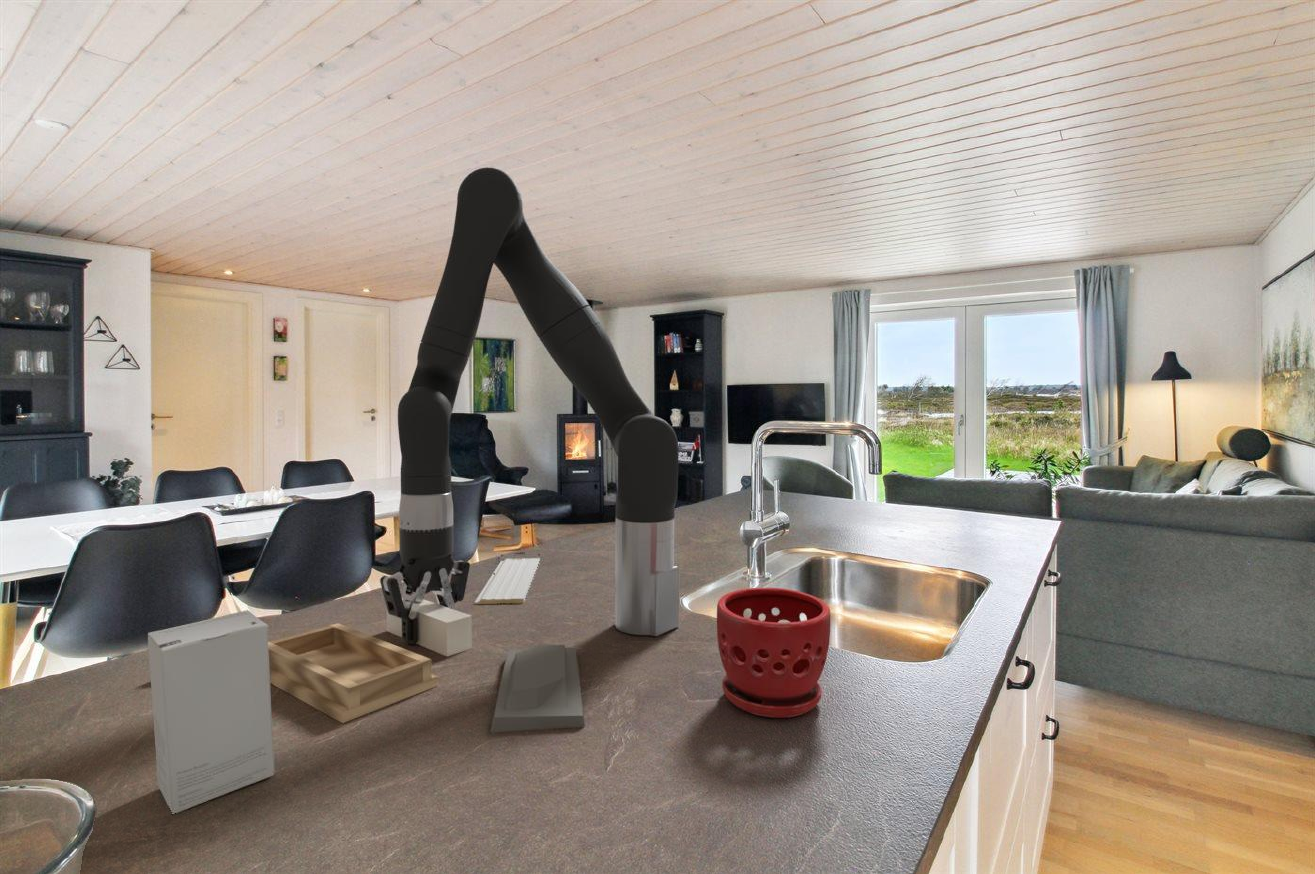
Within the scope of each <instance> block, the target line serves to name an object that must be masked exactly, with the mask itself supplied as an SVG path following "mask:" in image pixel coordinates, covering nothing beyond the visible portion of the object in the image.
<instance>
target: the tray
mask: <svg viewBox="0 0 1315 874" xmlns="http://www.w3.org/2000/svg"><path fill="white" fill-rule="evenodd" d="M268 650H269V671H270V685H273V686H274V687H277V688H278V689H280V690H282V691H284V692H286V693H288V694H289V695H291V696H293V697H294V698H296V699H298V700H300V701H302V702H303V703H306V704H307V705H309V706H311V707H313V708H315V710H318V711H320V712H322V713H324V714H325V715H327V716H329V717H331V718H332V719H334V720H336V721H337V722H340V723H341V724H344V723H347V722H350V721H353V720H355V719H356V718H357V719H358V718H360V717H362V716H365V715H367V714H369V713H373V712H375V711H377V710H380V709H382V708H385V707H388V706H390V705H393V704H395V703H398V702H400V701H402V700H405V699H407V698H410V697H413V696H416V695H418V694H420V693H423V692H426V691H428V690H431V689H433V688H436V687H438V676H437V675H435V674H433V672H432V671H433V669H432V659H431V658H430V657H426V656H425V655H422V654H419V653H416V652H414V651H411V650H408V649H406V648H403V647H402V646H398V645H395V644H392V643H390V642H388V641H385V640H383V639H380V638H378V637H374V636H373V635H370V634H367V633H364V632H361V631H359V630H356V629H354V628H352V627H349V626H346V625H343V624H341V623H339V622H338V623H334V624H329V625H326V626H321V627H319V628H314V629H312V630H311V629H310V630H307V631H303V632H300V633H296V634H291V635H289V636H285V637H281V638H278V639H274V640H271V641H268Z"/></svg>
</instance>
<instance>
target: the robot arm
mask: <svg viewBox="0 0 1315 874" xmlns="http://www.w3.org/2000/svg"><path fill="white" fill-rule="evenodd" d="M456 197H457V199H456V210H455V217H454V224H453V231H452V236H451V237H452V238H451V242H450V246H449V251H448V255H447V259H446V263H445V267H444V271H443V273H442V276H441V280H440V282H439V286H438V288H437V291H436V295H435V298H434V300H433V303H432V307H431V309H430V312H429V316H428V318H427V320H426V321H427V322H426V323H425V327H424V331H423V333H422V337H421V340H420V343H419V347H418V350H417V357H416V358H417V359H416V360H417V364H416V367H415V369H414V373H413V376H412V379H411V381H410V384H409V387H408V390H407V392H405V393H404V394H403V396H402V397H401V398H400V400H399V402H398V406H397V407H398V408H397V428H398V430H397V431H398V439H399V447H400V448H399V449H400V454H401V463H400V499H399V507H398V523H399V524H398V525H399V526H398V527H399V528H398V530H399V532H398V533H399V542H398V543H399V555H400V560H401V563H400V567H399V568H398V572H396V573H394V574H392V575H389V576H387V575H382V577H380V580H379V583H380V587H381V590H382V594H383V599H384V602H385V605H386V611H387V610H388V613H389V614H390V615H393V616H396V617H399V618H401V619H402V637H401V638H402V640H404V642H406V643H408V644H410V645H413V644H416V643H417V642H418V620H417V618H415V617H416V615H417V612H418V608H419V605H420V603H422V602H423V599H424V600H425V595H427V594H429V593H430V592H432V593H433V594H434V597H435V599H436V602H437V604H439V605H442V606H445V607H448V608H451V609H453V608H454V606H455V604H457V602H462V601H463V600H464V598H465V593H466V589H467V583H468V578H469V573H470V567H471V563H470V562H468V561H466V560H462V559H461V560H460V559H456V560H454V558H453V556H452V554H453V552H454V548H455V547H454V545H455V544H454V543H455V542H454V538H455V537H454V503H453V494H452V466H451V464H452V463H451V459H450V456H449V449H450V446H449V445H450V423H451V422H450V421H451V418H452V417H451V416H452V413H453V409H454V407H455V402H456V398H457V396H458V395H457V394H458V390H459V387H460V386H459V385H460V384H461V378H462V375H463V373H464V371H465V369H466V366H467V364H468V361H469V358H470V355H471V352H472V349H473V345H474V343H475V339H476V336H477V333H478V329H479V325H480V322H481V316H482V313H483V308H484V302H485V298H486V297H485V296H486V292H487V288H488V284H489V280H490V277H491V272H492V269H493V266H494V265H495V266H496V268H497V269H498V271H500V273H501V275H502V276H503V277H504V279H505V280H506V282H507V283H508V285H509V286H510V289H511V290H512V292H513V294H514V296H515V298H516V300H517V302H518V305H519V306H520V308H521V310H522V312H523V315H525V317H526V319H527V320H528V322H529V324H530V325H531V327H532V329H533V331H534V332H535V334H536V336H537V337H538V338H539V340H540V342H541V344H543V346H544V348H545V349H546V351H547V352H548V354H549V356H550V357H551V358H552V359H553V361H554V363H555V364H556V365H557V367H559V369H560V370H561V372H562V373H563V374H564V376H565V377H566V378H567V379H568V381H569V382H570V383H571V384H572V386H574V388H575V389H576V390H577V391H578V393H579V394H580V395H581V396H582V398H584V400H585V401H586V402H587V404H589V406H590V408H591V409H592V410H593V412H594V413H595V415H596V417H597V419H598V421H599V423H600V424H601V426H602V428H603V430H604V432H605V434H606V435H607V438H608V440H609V441H610V444H611V446H612V447H613V451H614V452H615V455H616V457H617V491H616V492H617V493H616V501H615V545H614V546H615V553H614V555H615V562H614V563H615V564H614V567H615V570H614V571H615V572H614V573H615V574H614V575H615V577H614V578H615V579H614V581H615V584H614V586H615V587H614V592H615V594H614V596H615V597H614V598H615V599H614V602H615V603H614V604H615V606H614V608H615V611H614V612H615V613H614V614H615V617H614V620H615V621H614V622H615V624H614V625H615V628H616V630H619V631H620V632H622V633H625V634H629V635H633V636H634V635H635V636H636V635H637V636H653V637H658V636H661V635H663V634H664V633H665V634H666V633H667V632H669V631H672V630H674V629H676V628H679V627H680V567H679V566H677V565H675V514H676V513H675V512H676V510H675V509H676V504H677V500H678V491H679V490H678V488H679V442H678V437H677V434H676V432H675V430H674V428H673V427H672V426H671V425H670V424H669V423H668V422H667V421H666V420H664V419H663V418H661V417H658V416H655V414H654V413H653V412H652V411H651V410H650V409H649V407H648V406H647V405H646V403H645V402H644V401H643V399H642V397H640V395H639V394H638V393H637V391H636V390H635V389H634V387H633V386H632V384H631V383H630V381H629V379H628V377H627V375H626V373H625V371H624V368H623V366H622V363H621V361H620V359H619V356H618V354H617V352H616V349H615V347H614V345H613V343H612V341H611V339H610V337H609V335H608V333H607V331H606V330H605V329H606V328H604V325H602V322H601V321H600V319H599V318H598V316H597V315H596V313H595V312H594V310H593V309H592V307H591V305H590V304H589V302H588V301H587V299H586V298H585V296H584V295H583V294H582V293H581V291H579V289H578V288H577V286H575V285H574V284H573V283H572V282H571V280H569V278H567V276H566V275H565V274H564V273H563V272H562V271H561V270H559V268H558V267H557V266H556V265H554V263H553V261H551V260H550V259H549V257H548V255H547V254H546V253H545V252H544V250H543V248H542V247H541V245H540V244H539V243H540V242H539V241H538V240H537V238H536V236H535V234H534V233H533V231H532V229H531V227H530V224H529V223H528V221H527V219H526V217H525V214H524V212H523V211H524V210H523V208H524V207H523V199H522V194H521V192H520V189H519V187H518V185H517V183H516V182H515V181H514V180H513V178H512V177H511V176H510V175H508V174H507V173H506V172H505V171H503V170H501V169H500V168H499V169H498V168H495V167H481V168H477V169H475V170H473V171H472V172H470V173H468V175H467V176H466V177H464V179H463V180H462V182H461V184H460V185H459V188H458V193H457V196H456ZM450 574H451V576H450ZM449 576H450V579H449V578H448V577H449ZM449 580H450V581H449ZM402 581H403V583H404V588H403V591H402V593H401V590H400V589H402V587H403V585H402ZM402 599H403V600H402Z"/></svg>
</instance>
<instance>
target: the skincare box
mask: <svg viewBox="0 0 1315 874" xmlns="http://www.w3.org/2000/svg"><path fill="white" fill-rule="evenodd" d="M268 642H269V625H268V624H267V623H265V622H264V621H263V620H261V619H260V618H259V617H257V616H256V615H255V614H253V613H252V612H251V611H250V610H248V609H245V610H242V611H238V612H234V613H233V612H232V613H230V614H225V615H221V616H217V617H213V618H209V619H205V620H201V621H195V622H192V623H187V624H183V625H179V626H174V627H169V628H166V629H159V630H155V631H150V632H148V633H147V645H148V646H147V647H148V659H149V660H148V661H149V662H148V663H149V678H150V686H151V687H150V688H151V702H152V715H153V730H154V744H155V756H156V757H155V759H156V761H155V762H156V775H157V786H158V788H159V790H160V792H161V794H162V797H163V798H164V801H165V802H166V804H167V807H168V806H169V807H168V809H169V808H170V809H169V810H171V811H170V813H171V812H172V813H171V814H172V815H176V814H178V813H180V812H183V811H185V810H188V809H190V808H192V807H196V806H199V805H200V804H202V803H203V804H204V803H205V802H206V803H207V802H208V801H211V800H213V799H214V800H215V798H218V797H221V796H224V795H227V794H230V792H231V793H232V792H234V791H237V790H239V789H242V788H244V787H247V786H250V785H252V784H255V783H257V782H259V781H263V780H266V779H268V778H270V777H272V776H274V775H275V755H274V754H275V753H274V739H273V718H272V697H271V683H270V671H269V650H268ZM175 813H176V814H175Z"/></svg>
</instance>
